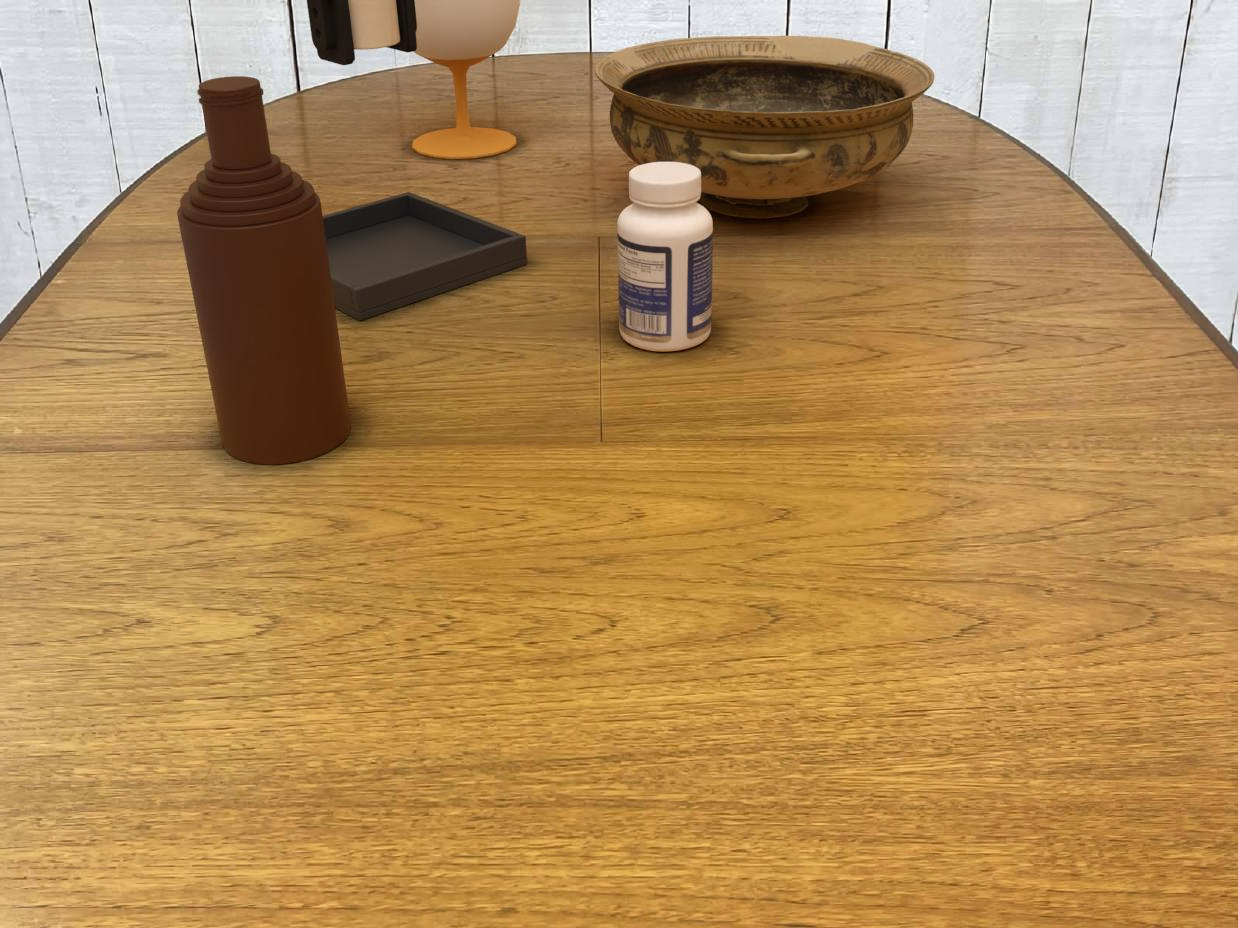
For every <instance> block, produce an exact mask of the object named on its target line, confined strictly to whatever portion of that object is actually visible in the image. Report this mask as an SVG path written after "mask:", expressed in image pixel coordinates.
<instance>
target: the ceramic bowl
mask: <svg viewBox="0 0 1238 928" xmlns="http://www.w3.org/2000/svg"><path fill="white" fill-rule="evenodd" d="M594 75H595V76H596V78H597V79H598V80H599V82H600V83H601V84H603V85H604V86H605V87H606V88H607V89H608V90H609V91H610V92H612V93H613V96H612V97H611V103H610V108H609V124H610V130H611V133H612V135H613V138H614V140H615V142H616V144H617V145H618V146H619V148H620V149H621V150H622V151H623V153H624V154H625V155H626V156H627V157H628V158H629V159H631V160H632V161H633V162H634V163H635V164H637V166H639V165H643V164H647V163H653V162H680V163H685V164H690V165H693V166H695V167H697V168H698V169H699V170H700V171H701V197H700V199H699V201H700V204H701V205H702V206H703V207H704V208H705V209H707V210H711V211H713V213H714V212H715V213H718V214H721V215H724V216H732V217H738V218H745V219H746V218H749V219H773V218H783V217H787V216H791V215H795V214H797V213H800V212H802V211H804V210H805V209H807V207H808V206H809V199H808V197H809V196H814V195H815V196H816V195H819V194H824V193H828V192H834V191H836V190H837V191H838V190H841V189H843V188H844V189H845V188H846V187H851V186H853V185H855V184H858V183H861V182H864V181H866V180H868V179H869V178H872V177H873V176H875V175H877V174H879V173H880V172H882V171H883V170H885V169H886V168H888V167H890V165H892V164H893V162H895V160H897V158H899V157H900V155H901V154H902V153H903V152H904V150H905V149H906V148H907V146H908V144H909V141H910V139H911V136H912V131H913V127H914V108H913V102H914V101H915V100H917V99H918V98H919V97H921V96H922V95H924V94H925V93H926V92H927V91H928V90H929V89H930V88H931V87H932V85H933V84H934V83H935V78H936V77H935V76H936V75H935V73H934V71H933V69H932V68H931V67H930V66H929V65H927V64H926V63H925V62H924V61H921V60H919V59H918V58H915V57H912V56H910V55H907V54H904V53H901V52H898V51H893V50H891V49H887V48H884V47H879V46H875V45H873V44H868V43H865V42H860V41H855V40H849V39H843V38H836V37H835V38H834V37H825V36H824V37H823V36H806V35H733V36H732V35H731V36H729V35H727V36H726V35H725V36H724V35H718V36H717V35H715V36H698V37H697V36H696V37H687V38H686V37H685V38H675V39H667V40H666V39H665V40H659V41H652V42H647V43H642V44H638V45H637V44H636V45H632V46H629V47H625V48H621V49H619V50H617V51H614V52H612V53H610V54H608V55H605V56H604V57H602V58H601V59H600V60H598V62H596V63H595V66H594Z"/></svg>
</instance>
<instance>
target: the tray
mask: <svg viewBox="0 0 1238 928" xmlns="http://www.w3.org/2000/svg"><path fill="white" fill-rule="evenodd" d="M322 215H323V223H324V230H325V238H326V245H327V252H328V260H329V267H330V274H331V282H332V289H333V296H334V304H335V310H338V311H339V312H342V313H343V314H346V315H347V316H350V317H352V318H353V319H355V320H358V321H359V322H360V321H364V320H367V319H370V318H373V317H377V316H378V315H382V314H384V313H387V312H391V311H393V310H397V309H399V308H402V307H406V306H408V305H411V304H414V303H417V302H419V301H423V300H427V299H428V298H431V297H434V296H438V295H440V294H444V293H446V292H449V291H451V290H455V289H458V288H461V287H463V286H468V285H470V284H472V283H476V282H478V281H479V282H480V281H481V280H482V281H483V280H485V279H487V278H490V277H493V276H497V275H500V274H502V273H505V272H508V271H512V270H514V269H517V268H520V267H522V266H526V265H528V258H527V254H528V253H527V237H526V235H525V234H522V233H519V232H517V231H514V230H511V229H508V228H506V227H503V226H502V225H501V226H500V225H498V224H495V223H492V222H490V221H487V220H484V219H482V218H479V217H477V216H474V215H472V214H468V213H466V212H464V211H462V210H461V211H460V210H458V209H456V208H452V207H450V206H448V205H445V204H442V203H439V202H437V201H434V200H431V199H429V198H426V197H425V196H424V197H423V196H421V195H418V194H416V193H413V192H411V191H407V192H403V193H399V194H395V195H393V196H388V197H385V198H381V199H377V200H374V201H371V202H367V203H363V204H360V205H356V206H352V207H349V208H344V209H342V210H338V211H334V212H330V213H326V214H322Z"/></svg>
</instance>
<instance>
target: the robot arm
mask: <svg viewBox="0 0 1238 928" xmlns="http://www.w3.org/2000/svg"><path fill="white" fill-rule="evenodd" d="M396 5H397V15H398V24H399V34H400V42H399V43H397V44H395V45H392V46H389V47H386V48H388V49H392V50H396V51H399V52H403V53H414V52H413V51H416V49H417V41H416V30H417V20H416V10H415V0H396ZM306 6H307V12H308V21H309V28H310V35H311V40H312V41H311V42H312V44H313V46H314V47H315V49H316V52H317V57H318V58H319V59H320V60H322V61H326V62H330V63H334V64H336V65H340V66H348V65H352V64H353V63H354V62H355V60H356V54H355V53H356V52H355V49H354V45H353V36H352V28H351V20H350V12H349V4H348V0H306Z"/></svg>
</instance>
